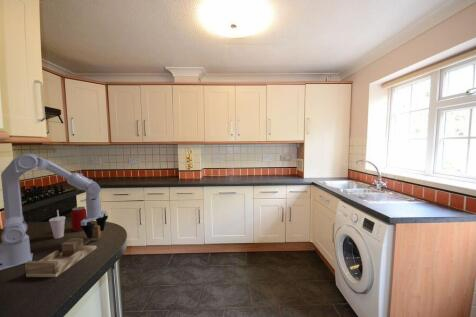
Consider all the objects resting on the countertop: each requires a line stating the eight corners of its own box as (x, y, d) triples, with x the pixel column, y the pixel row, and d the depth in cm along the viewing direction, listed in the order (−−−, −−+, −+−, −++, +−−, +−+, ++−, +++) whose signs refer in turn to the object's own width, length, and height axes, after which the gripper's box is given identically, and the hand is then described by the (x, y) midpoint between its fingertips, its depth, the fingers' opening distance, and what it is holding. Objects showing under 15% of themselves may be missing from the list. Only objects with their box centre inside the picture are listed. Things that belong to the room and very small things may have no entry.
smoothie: (59, 239, 102) (57, 212, 101) (46, 239, 102) (44, 212, 101) (70, 233, 108) (68, 208, 107) (58, 234, 109) (56, 208, 107)
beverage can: (85, 225, 119) (83, 205, 118) (89, 228, 115) (87, 207, 114) (70, 229, 114) (68, 208, 113) (74, 233, 110) (72, 211, 109)
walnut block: (74, 255, 85) (73, 241, 84) (62, 255, 85) (61, 241, 84) (102, 237, 101) (101, 225, 101) (92, 237, 101) (91, 225, 101)
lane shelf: (56, 277, 73) (54, 263, 73) (26, 276, 74) (24, 262, 73) (96, 248, 93) (95, 237, 93) (73, 248, 93) (72, 237, 93)
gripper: (90, 211, 92) (92, 241, 93) (111, 202, 106) (113, 227, 107) (75, 212, 92) (77, 241, 93) (98, 202, 106) (100, 227, 108)
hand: (95, 234), depth 100 cm, fingers open, 7 cm apart
